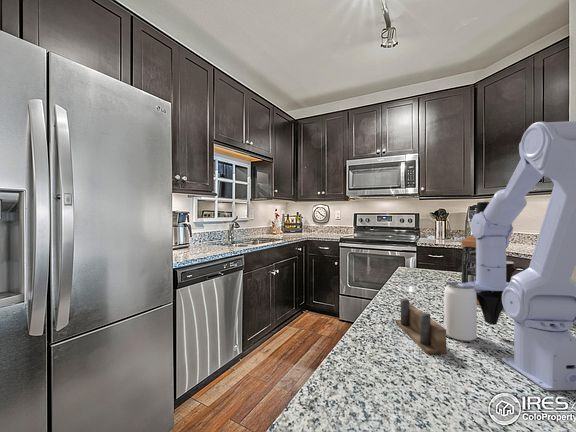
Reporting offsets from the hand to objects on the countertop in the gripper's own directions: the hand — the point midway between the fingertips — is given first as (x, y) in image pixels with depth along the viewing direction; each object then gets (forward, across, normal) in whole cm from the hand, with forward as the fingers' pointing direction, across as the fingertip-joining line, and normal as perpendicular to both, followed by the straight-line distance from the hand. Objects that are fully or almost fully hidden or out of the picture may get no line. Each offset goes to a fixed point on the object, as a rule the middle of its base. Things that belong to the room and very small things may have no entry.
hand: (490, 322), depth 66 cm
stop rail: (+3, +16, 0) cm, 17 cm away
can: (+3, +7, 0) cm, 8 cm away
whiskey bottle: (+3, -16, -24) cm, 29 cm away
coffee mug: (+3, -33, -37) cm, 49 cm away
